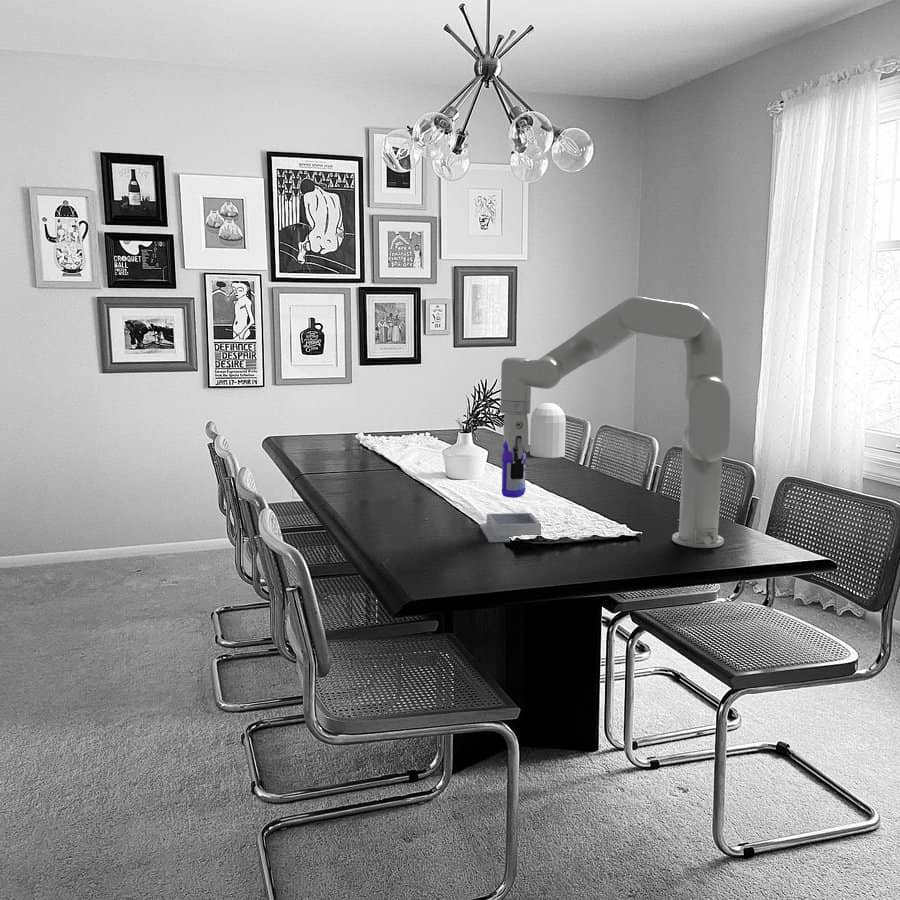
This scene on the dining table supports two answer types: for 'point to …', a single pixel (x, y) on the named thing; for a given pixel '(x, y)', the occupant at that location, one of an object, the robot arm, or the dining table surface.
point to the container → (547, 431)
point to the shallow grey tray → (509, 526)
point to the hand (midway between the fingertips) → (513, 475)
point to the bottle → (510, 486)
